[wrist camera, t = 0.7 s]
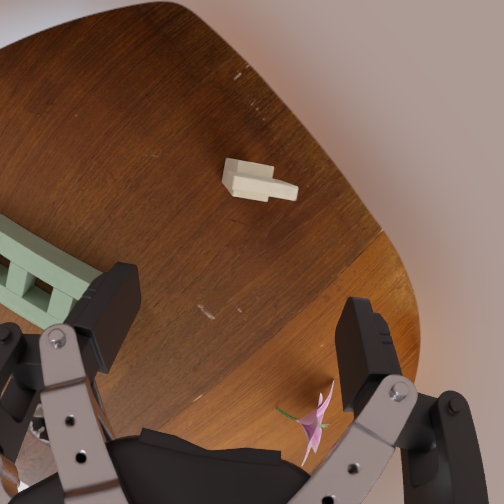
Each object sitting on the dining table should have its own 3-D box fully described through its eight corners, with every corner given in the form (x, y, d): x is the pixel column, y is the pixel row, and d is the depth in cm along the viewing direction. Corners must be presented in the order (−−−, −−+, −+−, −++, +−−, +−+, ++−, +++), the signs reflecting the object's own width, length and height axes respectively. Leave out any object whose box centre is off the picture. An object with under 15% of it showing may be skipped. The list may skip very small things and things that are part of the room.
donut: (26, 372, 32) (16, 390, 29) (98, 411, 36) (92, 431, 32) (19, 414, 34) (11, 430, 31) (81, 446, 38) (77, 464, 34)
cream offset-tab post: (219, 156, 29) (236, 160, 16) (256, 163, 30) (302, 172, 16) (215, 181, 30) (228, 204, 16) (252, 187, 30) (293, 215, 17)
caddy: (-5, 209, 26) (-22, 216, 23) (137, 290, 32) (131, 305, 28) (-17, 269, 27) (-32, 280, 24) (113, 345, 33) (107, 362, 30)
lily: (296, 433, 44) (341, 460, 37) (241, 444, 37) (290, 482, 29) (321, 368, 45) (373, 391, 38) (268, 369, 38) (326, 401, 30)
